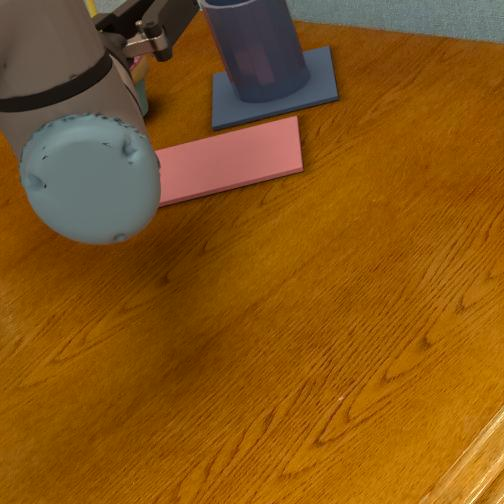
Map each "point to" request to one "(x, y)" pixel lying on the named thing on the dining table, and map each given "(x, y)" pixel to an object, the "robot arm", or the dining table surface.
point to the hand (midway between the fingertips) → (60, 0)
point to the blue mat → (313, 93)
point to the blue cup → (257, 47)
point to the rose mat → (230, 160)
